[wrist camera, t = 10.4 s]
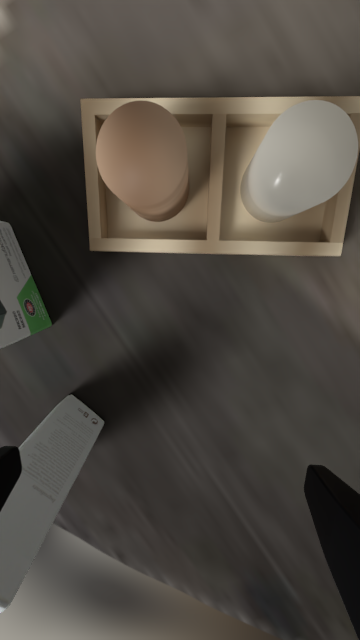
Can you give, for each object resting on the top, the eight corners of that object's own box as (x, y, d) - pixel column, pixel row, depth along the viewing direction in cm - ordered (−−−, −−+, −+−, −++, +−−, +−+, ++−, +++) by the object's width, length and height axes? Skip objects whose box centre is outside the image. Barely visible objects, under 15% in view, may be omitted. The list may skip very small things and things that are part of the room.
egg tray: (347, 116, 15) (368, 96, 14) (324, 256, 18) (340, 256, 16) (93, 117, 16) (80, 98, 14) (101, 251, 18) (89, 250, 16)
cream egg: (313, 149, 16) (367, 99, 11) (302, 223, 17) (347, 208, 12) (243, 149, 16) (265, 99, 11) (237, 221, 17) (255, 206, 12)
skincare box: (69, 390, 21) (-81, 549, 10) (109, 422, 22) (11, 609, 10) (31, 433, 23) (-143, 619, 11) (69, 461, 23) (-58, 668, 12)
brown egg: (191, 152, 16) (190, 102, 11) (187, 223, 17) (183, 206, 12) (125, 149, 16) (94, 98, 11) (124, 220, 17) (96, 202, 12)
